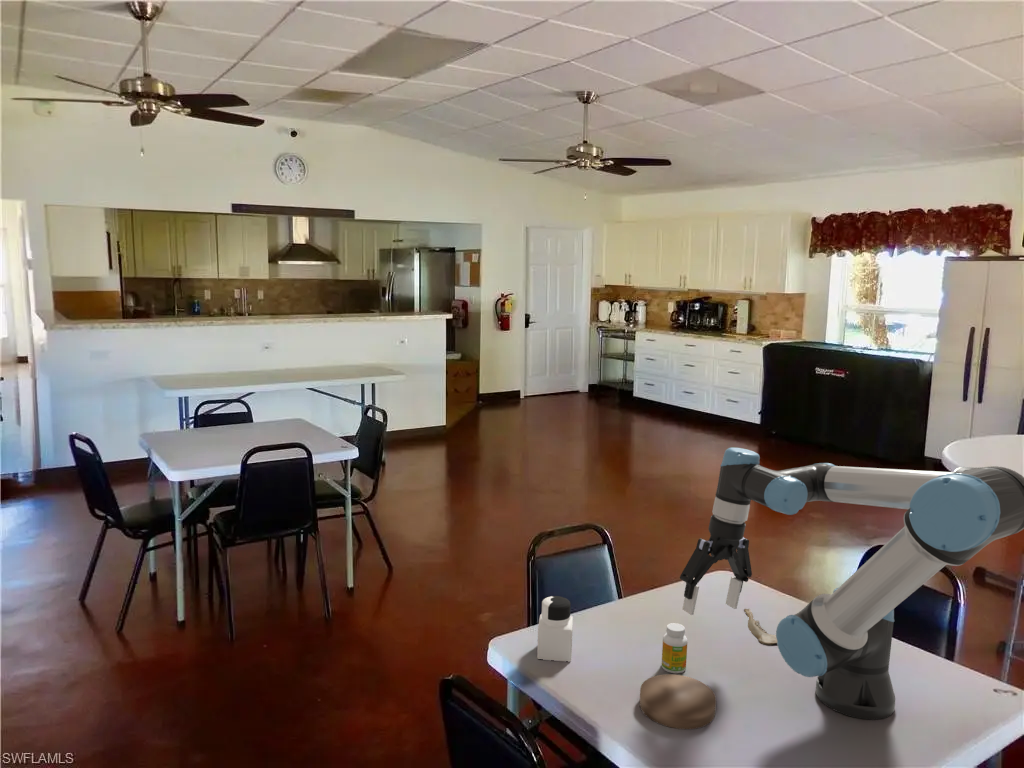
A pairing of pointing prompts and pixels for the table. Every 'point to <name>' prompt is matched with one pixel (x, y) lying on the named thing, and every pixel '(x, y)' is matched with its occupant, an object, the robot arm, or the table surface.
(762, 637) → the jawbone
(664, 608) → the table surface
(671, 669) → the supplement bottle
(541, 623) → the container
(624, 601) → the table surface
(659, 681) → the walnut base
